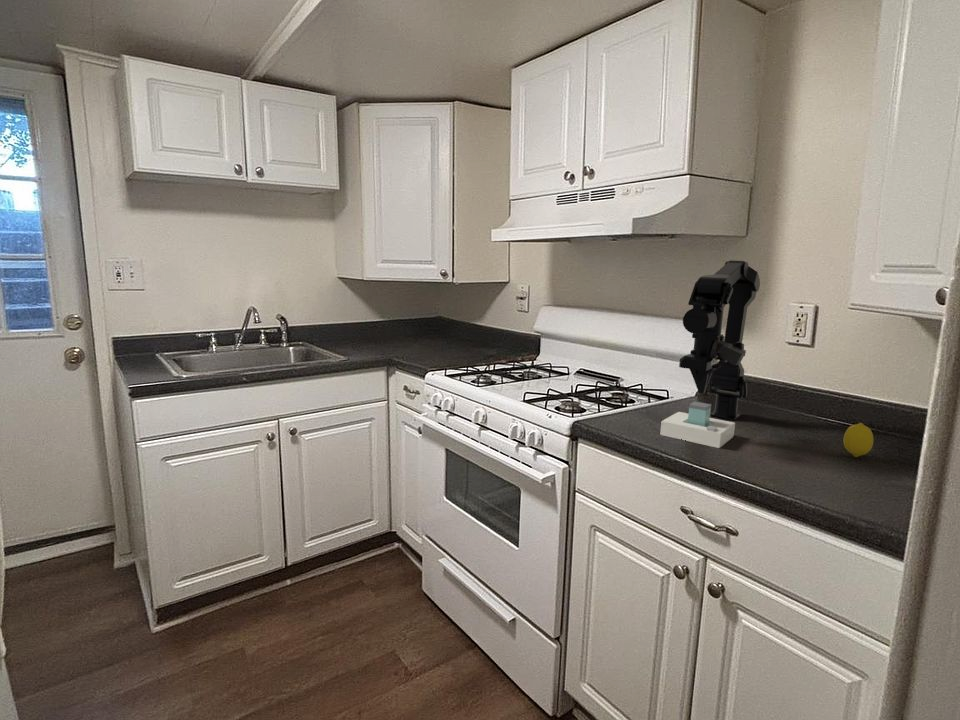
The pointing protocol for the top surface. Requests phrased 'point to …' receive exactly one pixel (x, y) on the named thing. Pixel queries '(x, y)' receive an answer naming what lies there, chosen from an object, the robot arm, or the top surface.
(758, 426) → the top surface
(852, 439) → the lemon
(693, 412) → the plug
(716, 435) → the socket plate
